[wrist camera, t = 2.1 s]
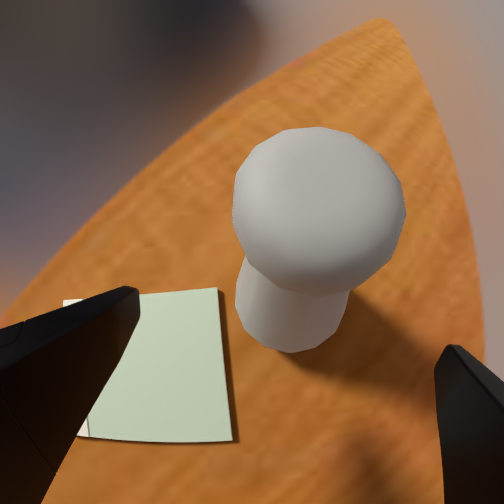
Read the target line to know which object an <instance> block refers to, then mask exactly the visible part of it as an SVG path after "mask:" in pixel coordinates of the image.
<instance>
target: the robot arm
mask: <svg viewBox="0 0 504 504" xmlns="http://www.w3.org/2000/svg"><path fill="white" fill-rule="evenodd" d="M140 315H141V310H140V297H139V291H138V289H137V288H134V287H130V286H122V287H119V288H116V289H113V290H110V291H107V292H104V293H102V294H99V295H96V296H93V297H90V298H87V299H84V300H82V301H79V302H76V303H73V304H70V305H67V306H65V307H62V308H59V309H56V310H53V311H50V312H48V313H45V314H42V315H39V316H36V317H34V318H31V319H28V320H25V322H24V321H22V322H19V323H17V324H14V325H11V326H8V327H5V328H2V329H0V504H41V502H42V500H43V498H44V496H45V494H46V492H47V491H48V489H49V487H50V485H51V483H52V481H53V479H54V477H55V475H56V472H57V471H58V469H59V467H60V465H61V463H62V461H63V460H64V458H65V456H66V454H67V452H68V450H69V448H70V447H71V445H72V443H73V441H74V439H75V438H76V436H77V434H78V432H79V430H80V429H81V427H82V425H83V423H84V421H85V420H86V418H87V416H88V414H89V413H90V411H91V409H92V407H93V406H94V404H95V402H96V401H97V399H98V397H99V395H100V394H101V392H102V390H103V389H104V387H105V385H106V384H107V382H108V380H109V379H110V377H111V375H112V374H113V372H114V370H115V369H116V367H117V365H118V363H119V362H120V360H121V358H122V356H123V354H124V352H125V349H126V347H127V345H128V343H129V341H130V339H131V336H132V334H133V332H134V330H135V328H136V326H137V324H138V322H139V319H140ZM434 379H435V393H436V411H437V422H438V429H439V437H440V446H441V456H442V468H443V482H444V504H504V382H503V381H502V380H501V379H500V378H498V377H497V376H496V375H495V374H494V373H493V372H491V371H490V370H489V369H488V368H487V367H486V366H484V365H483V364H482V363H481V362H480V361H478V360H477V359H476V358H475V357H474V356H472V355H471V354H470V353H469V352H468V351H466V350H465V349H464V348H463V347H461V346H460V345H453V344H449V345H447V346H446V347H445V349H444V351H443V352H442V354H441V356H440V358H439V360H438V361H437V363H436V365H435V368H434Z"/></svg>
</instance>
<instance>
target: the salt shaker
mask: <svg viewBox="0 0 504 504" xmlns="http://www.w3.org/2000/svg"><path fill="white" fill-rule="evenodd" d="M405 217H406V209H405V204H404V198H403V192H402V187H401V182H400V180H399V179H398V178H397V176H396V175H395V173H394V172H393V171H392V169H391V168H390V166H389V165H388V164H387V162H386V161H385V160H384V158H383V157H382V155H381V154H380V153H378V152H377V151H375V150H374V149H372V148H371V147H369V146H368V145H366V144H365V143H363V142H362V141H360V140H359V139H357V138H356V137H354V136H353V135H351V134H349V133H345V132H341V131H336V130H332V129H328V128H324V127H310V128H300V129H290V130H284V131H282V132H280V133H278V134H276V135H274V136H273V137H271V138H269V139H267V140H265V141H264V142H262V143H260V144H258V145H257V146H255V148H254V149H253V150H252V152H251V153H250V154H249V156H248V157H247V159H246V160H245V161H244V163H243V164H242V166H241V167H240V168H239V170H238V171H237V173H236V179H235V185H234V197H233V211H232V223H233V226H234V229H235V232H236V234H237V237H238V239H239V241H240V244H241V246H242V248H243V251H244V253H245V258H244V261H243V264H242V267H241V270H240V273H239V276H238V279H237V283H236V299H235V308H236V310H237V313H238V315H239V317H240V320H241V322H242V325H243V327H244V329H245V331H246V332H248V333H249V334H250V335H251V336H252V337H254V338H255V339H256V340H257V341H258V342H260V343H261V344H262V345H263V346H264V347H268V348H271V349H275V350H279V351H283V352H286V353H295V352H299V351H303V350H308V349H312V348H316V347H317V346H318V345H320V344H321V343H322V342H323V341H325V340H326V339H327V338H329V337H330V336H331V335H333V334H334V333H335V332H336V330H337V328H338V326H339V323H340V321H341V319H342V317H343V314H344V312H345V310H346V305H347V301H348V296H349V291H350V290H353V289H355V288H356V287H358V286H359V285H361V284H362V283H363V282H365V281H366V280H367V279H368V278H369V277H371V276H372V275H373V274H374V273H375V272H377V271H378V270H379V269H380V268H381V267H382V266H384V265H385V264H386V263H387V262H388V261H389V260H390V259H391V257H392V255H393V253H394V251H395V248H396V246H397V243H398V240H399V237H400V234H401V230H402V227H403V224H404V221H405Z"/></svg>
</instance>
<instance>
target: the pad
mask: <svg viewBox="0 0 504 504" xmlns="http://www.w3.org/2000/svg"><path fill="white" fill-rule="evenodd" d="M139 297H140V310H141V315H140V319H139V322H138V324H137V326H136V328H135V330H134V332H133V334H132V336H131V339H130V341H129V343H128V345H127V347H126V349H125V352H124V354H123V356H122V358H121V360H120V362H119V363H118V365H117V367H116V369H115V370H114V372H113V374H112V375H111V377H110V379H109V380H108V382H107V384H106V385H105V387H104V389H103V390H102V392H101V394H100V395H99V397H98V399H97V401H96V402H95V404H94V406H93V407H92V409H91V411H90V413H89V414H88V416H87V418H86V420H85V421H84V423H83V425H82V427H81V429H80V430H79V432H78V434H77V435H78V436H86V437H97V438H106V439H117V440H130V441H148V442H214V441H232V440H233V436H232V428H231V420H230V411H229V402H228V393H227V383H226V374H225V364H224V354H223V343H222V332H221V321H220V310H219V297H218V289H217V287H216V288H206V289H196V290H186V291H176V292H165V293H154V294H143V295H139ZM82 300H84V299H74V300H63V307H65V306H67V305H70V304H73V303H76V302H79V301H82Z"/></svg>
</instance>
